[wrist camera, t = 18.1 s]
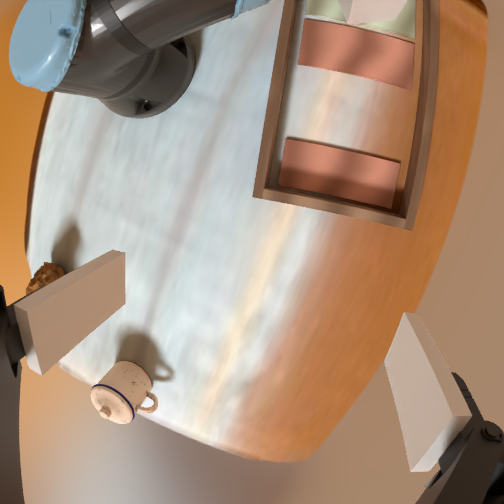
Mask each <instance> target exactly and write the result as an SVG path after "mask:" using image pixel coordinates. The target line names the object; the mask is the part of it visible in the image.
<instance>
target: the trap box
mask: <svg viewBox="0 0 504 504" xmlns="http://www.w3.org/2000/svg"><path fill="white" fill-rule="evenodd" d="M297 2H298V0H285V1H284V7H283V13H282V19H281V25H280V31H279V37H278V43H277V49H276V55H275V61H274V67H273V73H272V79H271V85H270V91H269V97H268V103H267V109H266V115H265V122H264V128H263V134H262V140H261V146H260V153H259V159H258V165H257V172H256V178H255V184H254V191H253V197H255V198H260V199H266V200H271V201H276V202H282V203H287V204H292V205H297V206H302V207H307V208H312V209H317V210H322V211H327V212H332V213H336V214H341V215H346V216H350V217H355V218H359V219H364V220H368V221H373V222H377V223H381V224H385V225H390V226H394V227H398V228H402V229H406V230H410V231H412V230H413V226H414V222H415V217H416V213H417V209H418V205H419V200H420V195H421V191H422V186H423V181H424V176H425V170H426V165H427V159H428V153H429V147H430V140H431V133H432V126H433V118H434V110H435V100H436V89H437V76H438V58H439V0H423V45H422V63H421V77H420V88H419V98H418V107H417V115H416V123H415V130H414V137H413V143H412V149H411V155H410V161H409V167H408V172H407V177H406V182H405V187H404V192H403V197H402V201H401V206H400V210H399V214H395V213H391V212H387V211H383V210H379V209H374V208H370V207H366V206H361V205H357V204H352V203H348V202H343V201H339V200H334V199H329V198H325V197H320V196H315V195H310V194H305V193H300V192H295V191H289V190H284V189H279V188H273V187H268V182H269V176H270V170H271V164H272V158H273V152H274V146H275V139H276V133H277V127H278V121H279V115H280V109H281V102H282V96H283V90H284V84H285V77H286V71H287V65H288V59H289V52H290V46H291V40H292V33H293V27H294V21H295V14H296V8H297ZM415 10H416V0H408V1H407V2H406V4H405V6H404V7H403V9H402V11H401V12H400V14H399V16H398V17H397V19H396V20H393V21H379V22H368V23H359V24H361V25H365V26H370V27H374V28H378V29H381V30H385V31H389V32H392V33H396V34H399V35H402V36H406V37H409V38H412V39H415ZM305 14H306V15H313V16H320V17H326V18H332V19H337V20H342V21H346V19H345V17H344V15H343V12H342V10H341V7H340V5H339V3H338V0H307V5H306V12H305ZM413 60H414V44H412V43H409V42H406V41H403V40H400V39H396V38H393V37H389V36H386V35H382V34H378V33H374V32H370V31H366V30H362V29H357V28H353V27H348V26H343V25H338V24H333V23H327V22H321V21H315V20H308V19H304V25H303V32H302V39H301V45H300V52H299V58H298V65H305V66H311V67H317V68H322V69H328V70H333V71H338V72H343V73H348V74H352V75H357V76H361V77H365V78H369V79H373V80H377V81H381V82H385V83H388V84H392V85H395V86H399V87H402V88H406V89H409V90H411V84H412V73H413ZM399 169H400V164H399V163H395V162H391V161H388V160H384V159H380V158H376V157H372V156H368V155H364V154H359V153H355V152H351V151H346V150H342V149H337V148H332V147H328V146H323V145H318V144H312V143H307V142H302V141H296V140H290V139H286V140H285V146H284V152H283V158H282V164H281V170H280V176H279V182H278V185H282V186H287V187H293V188H298V189H303V190H308V191H313V192H318V193H323V194H328V195H332V196H337V197H342V198H346V199H351V200H355V201H360V202H364V203H368V204H373V205H377V206H381V207H385V208H389V209H391V208H392V203H393V199H394V194H395V189H396V184H397V179H398V174H399Z"/></svg>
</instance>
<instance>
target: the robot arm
mask: <svg viewBox="0 0 504 504" xmlns="http://www.w3.org/2000/svg"><path fill="white" fill-rule="evenodd" d="M269 1H270V0H28V1H27V2H26V4H25V6H24V7H23V9H22V11H21V13H20V14H19V17H18V19H17V21H16V25H15V27H14V29H13V32H12V36H11V41H10V47H9V63H10V68H11V71H12V73H13V76H14V77H15V78H16V80H17V81H18V82H19V83H21V84H23V85H25V86H28V87H33V88H38V89H39V90H41V91H44V92H48V91H53V92H61V93H68V94H75V95H82V96H88V97H93V98H98V99H99V100H100V101H101V102H102V103H103V104H105V105H106V106H107V107H108V108H109V109H110V110H112V111H113V112H115V113H117V114H119V115H122V116H126V117H131V118H147V117H152V116H155V115H157V114H160V113H162V112H163V111H165V110H167V109H168V108H170V107H171V106H172V105H173V104H174V103H176V102H177V100H178V99H179V98H180V97H181V96H182V95H183V93H184V92H185V90H186V89H187V87H188V85H189V83H190V81H191V79H192V76H193V73H194V68H195V52H194V48H193V45H192V43H191V41H190V39H189V38H188V37H187V36H186V35H188V34H191V33H193V32H195V31H198V30H200V29H203V28H205V27H208V26H210V25H213V24H215V23H218V22H220V21H223V20H226V19H229V18H231V19H233V18H236V17H238V15H239V14H241V13H244V12H246V11H249V10H252V9H254V8H257V7H260V6H263V5H265V4H267V3H268V2H269ZM124 304H125V253H124V252H120V251H116V250H111V251H109V252H107V253H105V254H103V255H101V256H100V257H98V258H96V259H94V260H92V261H90V262H88V263H86V264H85V265H83V266H81V267H79V268H77V269H75V270H73V271H72V272H70V273H68V274H66V275H64V276H63V277H61V278H59V279H57V280H55V281H54V282H52V283H50V284H47V285H44V286H42V287H40V288H38V289H36V290H35V291H34V292H31V293H29V294H28V296H27V295H26V296H24V297H23V298H21V299H19V300H18V301H16V302H14V303H12V304H11V305H9V306H6V301H5V296H4V289H3V287H2V286H1V285H0V504H25V503H24V496H23V488H22V478H21V468H20V452H19V451H20V450H19V400H20V382H21V370H22V367H21V362H20V359H21V358H23V357H24V356H26V360H27V363H28V366H29V368H30V369H32V370H33V371H35V372H37V373H39V374H40V375H43V374H45V372H47V371H48V370H49V369H50V368H51V367H52V366H53V365H55V364H56V363H57V362H58V361H59V360H60V359H61V358H62V357H64V356H65V355H66V354H67V353H68V352H69V351H70V350H72V349H73V348H74V347H75V346H76V345H77V344H78V343H80V342H81V341H82V340H83V339H84V338H85V337H87V336H88V335H89V334H90V333H91V332H92V331H94V330H95V329H96V328H97V327H98V326H99V325H101V324H102V323H103V322H104V321H105V320H106V319H108V318H109V317H110V316H111V315H112V314H114V313H115V312H116V311H117V310H118V309H119V308H121V307H122V306H123V305H124ZM384 363H385V367H386V370H387V374H388V378H389V381H390V385H391V388H392V392H393V396H394V400H395V404H396V408H397V412H398V416H399V421H400V425H401V429H402V434H403V438H404V443H405V447H406V452H407V457H408V462H409V467H410V472H419V471H430V470H431V468H432V467H433V466H434V465H435V464H436V463H437V461H439V465H440V468H441V469H440V470H439V471H438V472H437V474H436V475H435V476H434V477H433V478H432V479H431V480H430V481H429V482H428V483H427V484H426V485H425V487H426V490H425V491H424V493H423V494H422V495H421V497H420V498H419V500H418V501H417V502H416V504H504V433H503V431H502V430H501V429H500V427H499V426H497V425H496V424H494V423H492V422H490V421H484V419H483V417H482V415H481V413H480V411H479V409H478V407H477V405H476V403H475V401H474V399H473V398H472V396H471V393H470V392H469V391H468V388H467V386H466V384H465V382H464V380H462V379H461V378H460V377H459V376H458V375H457V374H456V373H453V372H450V369H449V368H448V366H447V364H446V362H445V360H444V358H443V357H442V355H441V353H440V351H439V349H438V347H437V345H436V344H435V342H434V340H433V338H432V337H431V335H430V333H429V331H428V330H427V328H426V326H425V324H424V323H423V321H422V319H421V318H420V316H419V315H418V314H413V313H408V312H404V313H403V316H402V319H401V321H400V324H399V327H398V329H397V332H396V334H395V337H394V339H393V342H392V344H391V347H390V349H389V351H388V354H387V356H386V358H385V361H384Z"/></svg>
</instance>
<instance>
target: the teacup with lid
mask: <svg viewBox="0 0 504 504" xmlns="http://www.w3.org/2000/svg"><path fill="white" fill-rule="evenodd" d="M151 388H152V384H151V380H150V378H149V376H148V375H147V374H146V372H145V371H144V370H143V369H142V368H141V367H139V366H138V365H136V364H134V363H132V362H129V361H119V362H117V363H116V364H115V365H114V366H113V367H112V368H111V369H110V370H109V371H108V373H107V374H106V375H105V376H104V377H103V378H102V379H101V380H100V381H99V383H98V384H96V385H94V386H93V387H92V389H91V393H90V395H91V400H92V403H93V404H94V406H95V407H96V409H97V410H98V411H99V413H100V415H101V416H102V417H103V418H105V419H109V420H111V421H113V422H116V423H119V424H126V423H129V422H131V421H132V420H133V419H134V416H135V413H136V412H137V411H139V412H141V413H145V414H149V413H153V412H154V411H155V410H156V409H157V407H158V400H157V397H156V396H155V395H154V394H153V393H151V392H150V391H151ZM146 397H149V398H151V399H152V400H153V401H154V404H153V406H152V407H149V408H144V407H141V405H142V403H143V402H144V400H145V399H146Z"/></svg>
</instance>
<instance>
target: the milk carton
mask: <svg viewBox="0 0 504 504" xmlns="http://www.w3.org/2000/svg"><path fill="white" fill-rule="evenodd" d="M407 1H408V0H338V3H339V5H340V7H341V10H342V12H343V15H344V17H345V19H346V22H347V24H348V25H350V24H359V23H368V22H379V21H393V20H396V19H397V17H398V16H399V14H400V12H401V11H402V9H403V7H404V6H405V4H406V2H407Z"/></svg>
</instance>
